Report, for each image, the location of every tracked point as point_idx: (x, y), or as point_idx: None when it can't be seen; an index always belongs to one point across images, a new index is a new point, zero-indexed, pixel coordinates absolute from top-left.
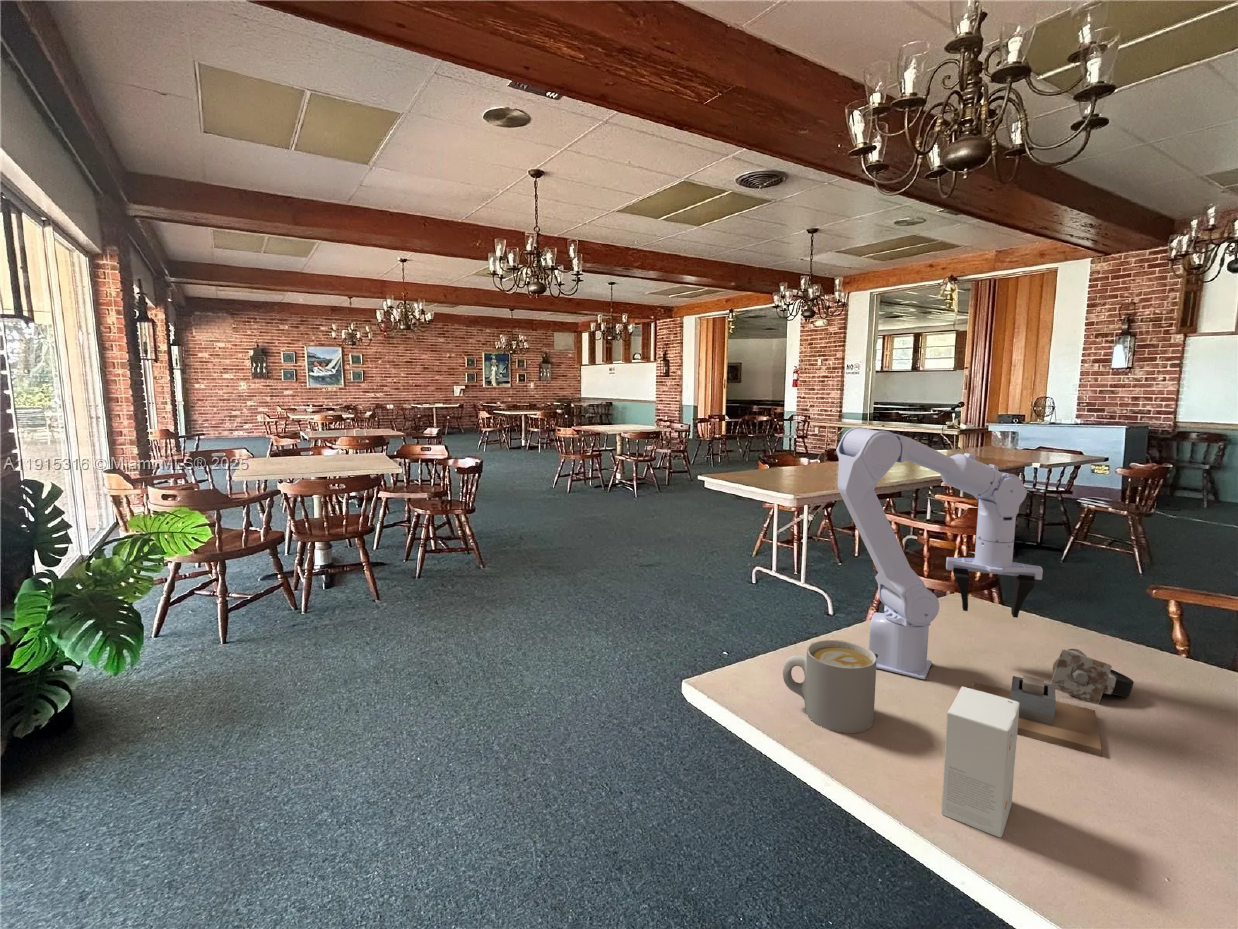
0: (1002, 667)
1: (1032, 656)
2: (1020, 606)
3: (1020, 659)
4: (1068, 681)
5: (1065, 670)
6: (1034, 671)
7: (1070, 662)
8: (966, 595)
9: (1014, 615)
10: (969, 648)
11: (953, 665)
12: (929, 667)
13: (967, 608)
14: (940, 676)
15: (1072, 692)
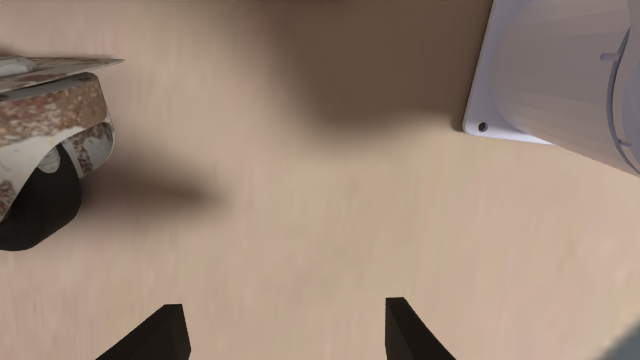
0: (259, 196)
1: (185, 303)
2: (118, 343)
3: (213, 271)
4: (58, 66)
5: (43, 73)
6: (179, 207)
7: (2, 79)
8: (421, 355)
9: (172, 309)
10: (339, 288)
11: (393, 146)
12: (475, 75)
13: (390, 304)
14: (442, 37)
15: (68, 59)
